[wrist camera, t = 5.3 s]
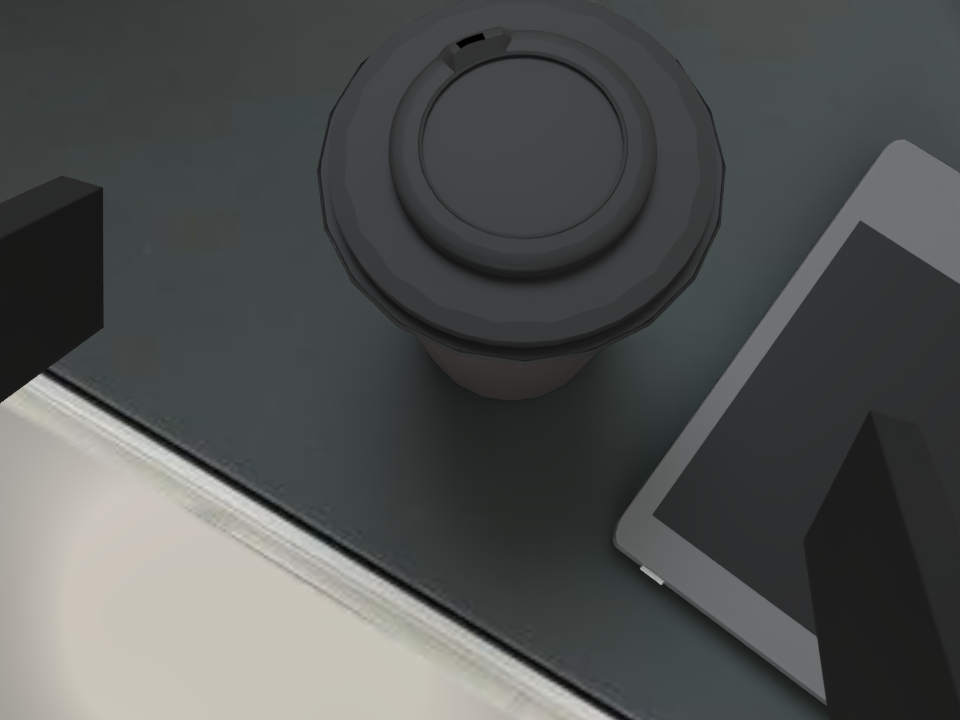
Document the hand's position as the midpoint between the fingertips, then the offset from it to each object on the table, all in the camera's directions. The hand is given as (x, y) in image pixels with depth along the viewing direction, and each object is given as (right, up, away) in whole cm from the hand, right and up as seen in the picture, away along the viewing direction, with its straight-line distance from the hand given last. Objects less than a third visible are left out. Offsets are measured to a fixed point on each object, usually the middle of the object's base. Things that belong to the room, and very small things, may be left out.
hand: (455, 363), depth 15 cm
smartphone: (+12, -2, +10) cm, 16 cm away
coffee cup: (+1, +1, +11) cm, 12 cm away
